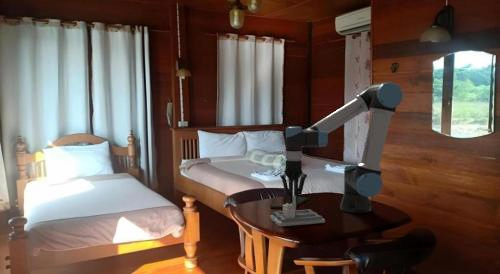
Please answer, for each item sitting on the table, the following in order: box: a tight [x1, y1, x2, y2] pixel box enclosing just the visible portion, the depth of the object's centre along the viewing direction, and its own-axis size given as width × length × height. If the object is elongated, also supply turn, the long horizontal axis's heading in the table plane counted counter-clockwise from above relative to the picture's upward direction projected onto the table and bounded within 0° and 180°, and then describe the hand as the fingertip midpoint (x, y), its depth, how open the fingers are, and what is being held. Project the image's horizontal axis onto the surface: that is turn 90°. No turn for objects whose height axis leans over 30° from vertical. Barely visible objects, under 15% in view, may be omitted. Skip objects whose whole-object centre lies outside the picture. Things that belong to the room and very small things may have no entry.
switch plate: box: [269, 209, 326, 227], centre depth 188 cm, size 22×13×3 cm, turn 105°
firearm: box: [270, 196, 309, 210], centre depth 220 cm, size 28×2×15 cm
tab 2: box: [284, 207, 295, 219], centre depth 183 cm, size 4×3×6 cm
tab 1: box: [282, 203, 293, 214], centre depth 190 cm, size 4×3×6 cm
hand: (293, 209), depth 191 cm, fingers closed
